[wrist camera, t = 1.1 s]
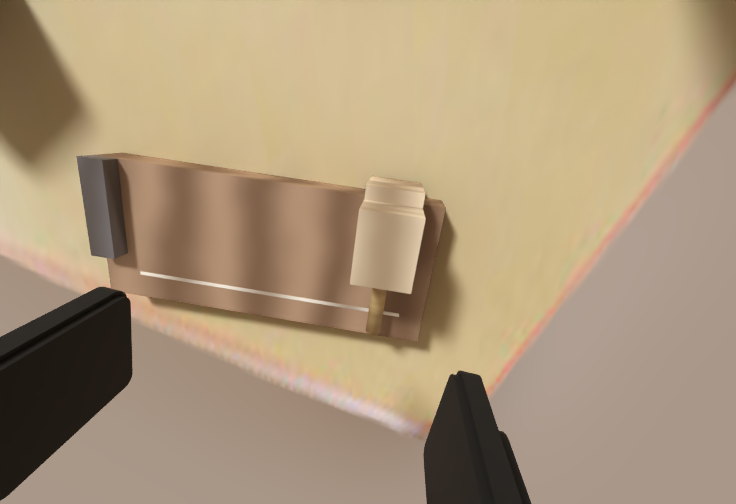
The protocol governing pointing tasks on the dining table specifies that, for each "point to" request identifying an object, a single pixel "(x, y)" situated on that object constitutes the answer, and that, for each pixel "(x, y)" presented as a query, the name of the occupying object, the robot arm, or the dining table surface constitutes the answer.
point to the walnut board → (242, 241)
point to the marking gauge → (387, 242)
